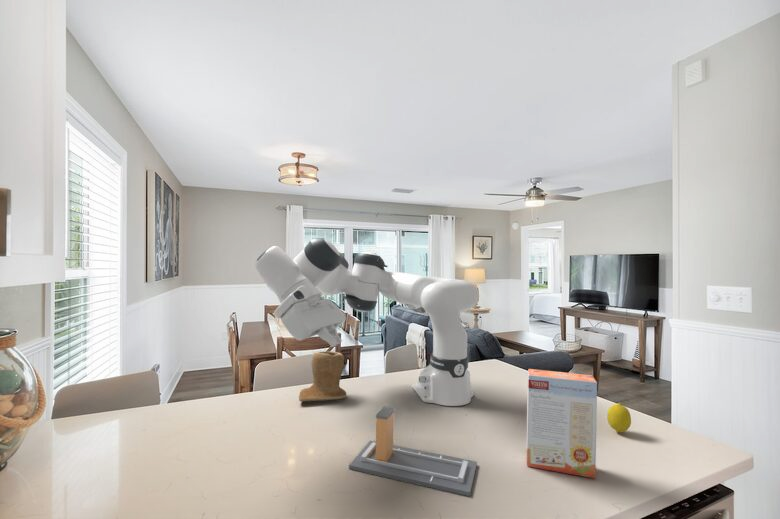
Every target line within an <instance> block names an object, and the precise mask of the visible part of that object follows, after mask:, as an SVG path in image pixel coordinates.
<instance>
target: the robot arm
mask: <svg viewBox="0 0 780 519" xmlns="http://www.w3.org/2000/svg"><path fill="white" fill-rule="evenodd" d="M349 264H350V263H348V261H347V259H346V258H345V257H344V256H343V254H342V253H341V252H339V251H338V249H337V248H336V246H335V245H334V244H333V243H332V242H331V241H329V240H327V239H326V238H323V237H315V238H311V240H309V241H308V243H307V244H306V246H305V247H304V248H303V249H302V250H301V251H300V252H299V253H298V254H297V255H296V256H295V257H294V258H292V257H291V256H290V255H289V254H287V253H286V251H284V250H283V248H281V247H279V246H278V245H273V246H271V247H269V248H268V249H266V250H265V251H263V252H262V253H261V254H260V256H258V258H257V259H256V261H255V267H256V268H255V269H256V271H257V272H258V274H259V275H260V277H261V278H262V280H263V282H264V283H265V284H266V286H267V287H268V288H269V290H270V291H271V292H273V293H274V294H275V295H276V296H277V298H278V301H279V303H280V304H279V305H278V306H277V307H276V309H274V311H273V313H274V315H275V317H276V318H277V319H279V320H280V321H281V323H282V325H283V326H284V328H285V329H286V330H287V331H288V333H289V334H290V335H291V336H292V337H293V338H294V339H296V341H301V342H302V341H303V340H306V339H309V338H312V337H314V336H318V337H319V338H320V339H321V340H323V341H325V342H326V343H328V345H329V346H330V347H331V348H334V347H335V346H338V345H340V343H342V342H343V340H342V338H341V337H340V336H339V333H338V330H337V328H339V327H341V326H342V325H343V323H344V322H345V321H347V316H346V315H345V313H344V312H343V311H342V310H341V308H339V307H338V306H337V305H336V303H334V302H333V301H332V300H331V299H328V298H324V297H322V294H324V295H330V296H333V295H338V294H341V293H342V294H344V296H343V299H344V300H345V301H346V303H347V305H348V306H349V307H350V308H351V309H354V310H355V311H356V312H360V313H368V312H372V311H373V310H375V308H376V307H377V303H378V297H379V293H380V294H381V295H382V296H383V297H385V298H387V299H389V300H391V301H394V302H397V303H401V304H404V305H409V306H413V307H418V308H423V310H424V311H425V312H426V313H427V314H428V317H429V320H430V322H431V328H432V335H433V337H432V338H433V340H432V348H433V349H432V353H430V354H429V355H430V356H429V358H430V362H429V364H428V365H427V366H425V368H424V369H422V370H421V371H420V373H419V376H418V382H416V383H413V384H412V388H413V390H414V391H415V392H416V394H417V396H418V397H419V398H420V399H421V401H422V402H423V403H430V404H436V405H439V406H440V405H441V406H445V407H446V406H447V407H460V406H464V405H468V404H470V403H471V401H472V398H473V397H474V392H473V391H472V387H471V386H472V385H471V384H472V383H471V373H470V371H469V370H468V368H469V356H468V333H467V330H466V329H465V328H464V327H463V322H462V319H461V313H465V312H468V311H470V310H472V309H473V308H474V307H475V306H476V305H477V304H478V302H479V300H480V292H479V288H477V286H476V285H475V284H474V283H473V282H470V281H467V280H463V279H456V278H446V277H439V276H428V275H426V276H425V275H422V274H415V273H409V272H399V271H398V272H397V271H387V270H386V269H385V268H388V265H387V264H385V260H384V259H383V258H382V257H381V256H380V255H378V254H377V253H374V252H373V251H363V252H359V253H357V254H356V256H355V258H354V260H353V267H352V270H351V269H350V268H349V266H350V265H349ZM321 293H322V294H321Z"/></svg>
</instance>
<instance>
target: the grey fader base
mask: <svg viewBox="0 0 780 519" xmlns="http://www.w3.org/2000/svg"><path fill="white" fill-rule="evenodd" d="M477 466H478V461H476V460H471V459H466V458H460V457H456V456H450V455H445V454H440V453H435V452H432V451H431V452H429V451H426V450H425V451H424V450H419V449H415V448H410V447H404V446H399V445H397V444H396V445H395V444H393V453H392V455H391V456H390V458H389V459H388V461H387V462H383V461H378V460H376V440H369V441H368V442H367V443H366V444H365V445H364V447H363V448H362V449H361V451H359V453H358V454H357V455H356V456H355V457H354V458H353V460H352V461H351V462H350V463H349V465H348V469H349V470H354V471H356V472H357V471H358V472H362V473H365V474H370V475H374V476H375V475H376V476H379V477H383V478H388V479H392V480H396V481H401V482H405V483H410V484H414V485H418V486H422V487H427V488H431V489H436V490H441V491H444V492H448V493H453V494H457V495H461V496H466V497H471V494H472V493H471V491H472V487H473V484H474V480H475V475H476V471H477Z"/></svg>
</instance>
